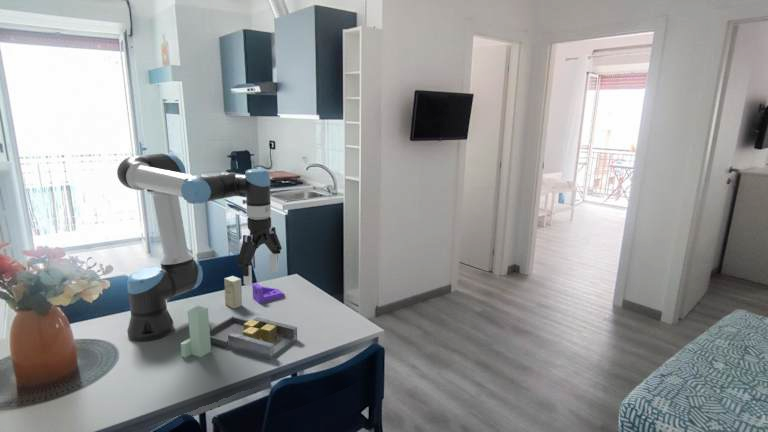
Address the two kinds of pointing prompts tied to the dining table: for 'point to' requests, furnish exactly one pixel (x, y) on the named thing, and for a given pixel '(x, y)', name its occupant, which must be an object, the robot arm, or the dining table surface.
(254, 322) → the dull yellow cube
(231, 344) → the slot rail
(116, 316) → the dining table surface
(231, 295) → the skincare box
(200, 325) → the mint t-shaped block
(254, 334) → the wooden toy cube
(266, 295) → the bracket
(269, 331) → the tan yellow cube
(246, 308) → the dining table surface
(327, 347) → the dining table surface
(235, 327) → the chip tray
